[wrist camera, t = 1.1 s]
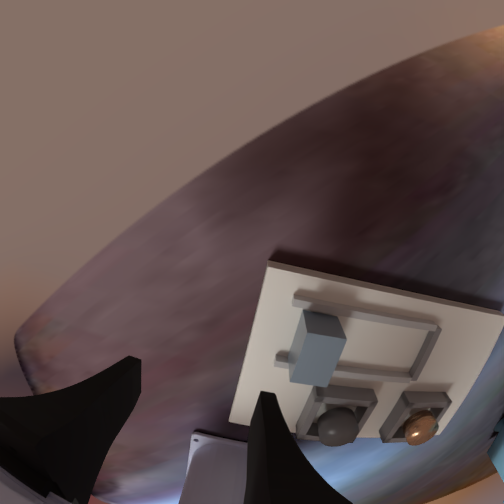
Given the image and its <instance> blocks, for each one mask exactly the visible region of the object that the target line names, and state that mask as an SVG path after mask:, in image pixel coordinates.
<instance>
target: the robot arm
mask: <svg viewBox="0 0 504 504" xmlns="http://www.w3.org/2000/svg"><path fill="white" fill-rule="evenodd" d="M140 393H141V359H138V358H135V357H132V356H127V357H126V358H124V359H122V360H121V361H119V362H117V363H116V364H114V365H112V366H110V367H109V368H107V369H105V370H103V371H102V372H100V373H98V374H96V375H94V376H92V377H90V378H88V379H86V380H84V381H82V382H80V383H77V384H75V385H72V386H70V387H67V388H64V389H61V390H57V391H53V392H49V393H45V394H40V395H34V396H26V397H1V398H0V504H88V502H89V499H90V495H91V492H92V490H93V487H94V484H95V481H96V479H97V476H98V474H99V471H100V469H101V466H102V464H103V461H104V459H105V457H106V455H107V453H108V450H109V448H110V446H111V445H112V443H113V441H114V439H115V438H116V436H117V435H118V433H119V432H120V430H121V428H122V427H123V425H124V424H125V422H126V420H127V419H128V417H129V416H130V414H131V412H132V411H133V409H134V407H135V405H136V403H137V400H138V398H139V396H140ZM186 476H187V477H186V480H185V483H184V487H183V490H182V494H181V497H180V500H179V504H353V503H352V502H350V501H349V500H347V499H346V498H345V497H343V496H342V495H341V494H340V493H338V492H337V491H336V490H335V489H333V488H332V487H331V486H330V485H329V484H328V483H327V482H326V481H325V480H324V479H323V478H322V477H321V476H320V474H319V473H318V472H317V471H316V470H315V469H314V468H313V466H312V465H311V464H310V463H309V461H308V460H307V459H306V457H305V456H304V454H303V453H302V451H301V450H300V448H299V446H298V445H297V443H296V441H295V440H294V438H293V436H292V434H291V432H290V430H289V428H288V426H287V423H286V421H285V419H284V417H283V414H282V412H281V409H280V406H279V403H278V400H277V396H276V394H275V393H272V392H266V391H260V394H259V397H258V400H257V403H256V406H255V409H254V412H253V415H252V418H251V422H250V428H249V434H248V443H246V442H240V441H235V440H230V439H225V438H221V437H216V436H212V435H208V434H203V433H199V432H193V433H192V437H191V444H190V451H189V458H188V466H187V474H186Z"/></svg>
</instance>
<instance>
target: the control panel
mask: <svg viewBox="0 0 504 504" xmlns="http://www.w3.org/2000/svg"><path fill="white" fill-rule="evenodd" d="M302 310H306V311H311V312H317V313H322V314H327V315H332V316H337V317H338V319H339V321H340V324H341V326H342V328H343V331H344V333H345V335H346V338H347V341H346V344H345V346H344V349H343V351H342V354H341V356H340V358H339V361H338V363H337V366H336V368H335V370H334V372H333V375H332V377H331V379H330V382H329V384H328V386H327V387H320V386H312V385H305V384H299V383H292V382H290V381H289V364H288V354H289V351H290V348H291V345H292V342H293V339H294V335H295V332H296V329H297V326H298V323H299V320H300V316H301V313H302ZM503 326H504V314H502V313H501V312H500V311H498V310H493V309H488V308H484V307H479V306H474V305H470V304H465V303H460V302H456V301H451V300H447V299H442V298H437V297H433V296H428V295H423V294H419V293H414V292H410V291H405V290H401V289H396V288H391V287H387V286H382V285H378V284H373V283H369V282H364V281H359V280H355V279H350V278H346V277H341V276H337V275H332V274H328V273H323V272H319V271H314V270H310V269H305V268H301V267H296V266H292V265H287V264H283V263H278V262H274V261H269V260H268V262H267V267H266V271H265V275H264V279H263V283H262V288H261V292H260V296H259V300H258V304H257V308H256V312H255V316H254V320H253V325H252V329H251V333H250V337H249V341H248V345H247V349H246V353H245V357H244V361H243V365H242V368H241V372H240V376H239V380H238V384H237V388H236V392H235V396H234V400H233V403H232V407H231V411H230V417H229V422H232V423H237V424H242V425H247V426H250V422H251V418H252V415H253V412H254V409H255V406H256V403H257V400H258V397H259V394H260V391H266V392H272V393H275V394H276V396H277V400H278V403H279V406H280V409H281V412H282V414H283V417H284V419H285V421H286V423H287V426H288V428H289V430H290V432H292V433H296V439H303V440H314V441H320V439H319V433H318V425H317V421H318V419H319V417H320V416H321V415H322V414H323V413H324V412H326V411H328V410H330V409H333V408H337V407H346V408H349V409H351V410H352V411H353V412H354V413H355V416H356V420H357V423H358V427H359V433H358V435H357V437H361V438H381V440H382V443H394V442H407V440H406V437H405V435H404V433H403V430H402V426H403V424H404V422H405V421H406V420H407V419H408V418H409V417H410V416H412V415H413V414H415V413H417V412H419V411H422V410H429V411H431V412H432V414H433V415H434V417H435V419H436V421H437V422H438V424H439V429H438V431H437V432H436V434H435V435H439V434H440V433H441V432H442V431H443V429H444V428H445V427H446V425H447V424H448V422H449V421H450V420H451V418H452V417H453V415H454V414H455V412H456V411H457V410H458V408H459V407H460V405H461V404H462V402H463V400H464V399H465V397H466V396H467V394H468V393H469V391H470V389H471V388H472V386H473V384H474V383H475V381H476V379H477V377H478V376H479V374H480V372H481V370H482V369H483V367H484V365H485V363H486V361H487V359H488V357H489V355H490V353H491V351H492V349H493V347H494V345H495V343H496V341H497V339H498V337H499V335H500V333H501V330H502V328H503ZM354 440H355V439H354ZM354 440H352V441H351V442H349V443H353V441H354Z"/></svg>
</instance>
